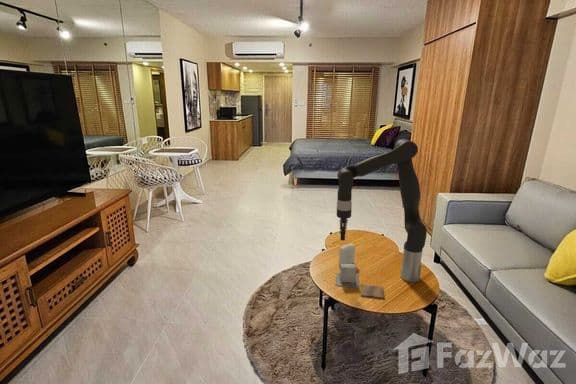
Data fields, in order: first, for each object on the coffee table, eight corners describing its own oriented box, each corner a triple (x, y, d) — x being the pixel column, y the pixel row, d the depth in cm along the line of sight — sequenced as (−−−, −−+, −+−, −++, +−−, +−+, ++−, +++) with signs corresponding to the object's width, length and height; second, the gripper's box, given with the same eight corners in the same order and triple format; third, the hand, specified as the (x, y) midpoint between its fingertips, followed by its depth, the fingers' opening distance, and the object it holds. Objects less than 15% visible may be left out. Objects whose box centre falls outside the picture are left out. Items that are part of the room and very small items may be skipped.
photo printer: (350, 259, 187) (351, 241, 184) (355, 262, 184) (356, 243, 180) (337, 264, 182) (338, 245, 178) (342, 267, 178) (343, 248, 175)
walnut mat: (382, 288, 159) (382, 287, 159) (384, 298, 150) (384, 297, 150) (360, 285, 161) (360, 284, 161) (361, 296, 153) (361, 294, 152)
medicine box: (353, 277, 168) (354, 263, 165) (355, 282, 164) (356, 267, 161) (339, 278, 168) (339, 263, 165) (340, 282, 163) (341, 268, 161)
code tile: (358, 275, 170) (358, 275, 170) (358, 288, 159) (358, 288, 159) (336, 273, 173) (336, 273, 173) (335, 285, 161) (335, 285, 161)
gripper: (351, 212, 151) (349, 243, 156) (352, 203, 164) (350, 231, 169) (335, 212, 153) (334, 242, 157) (337, 203, 166) (337, 230, 171)
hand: (343, 236), depth 163 cm, fingers open, 8 cm apart
